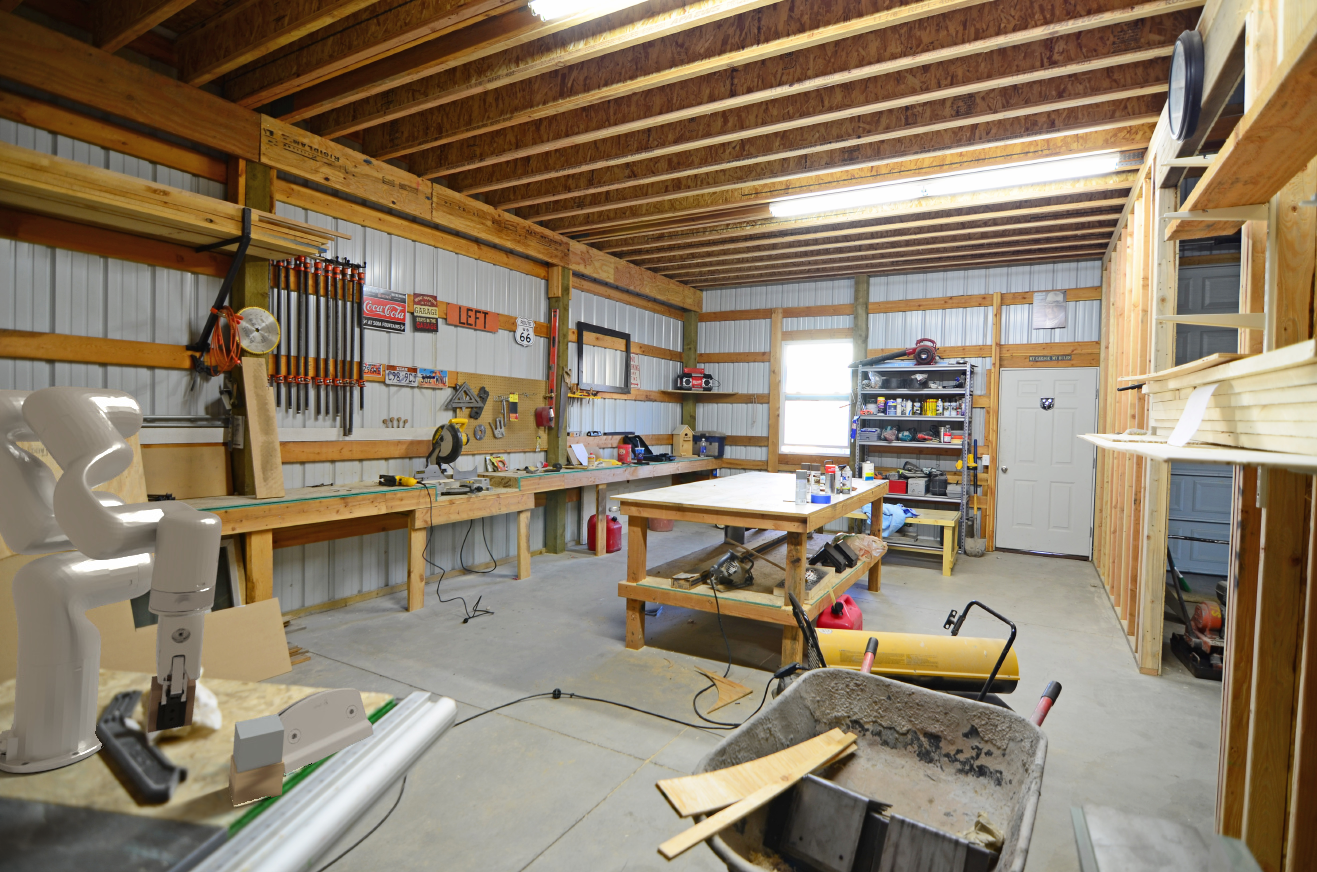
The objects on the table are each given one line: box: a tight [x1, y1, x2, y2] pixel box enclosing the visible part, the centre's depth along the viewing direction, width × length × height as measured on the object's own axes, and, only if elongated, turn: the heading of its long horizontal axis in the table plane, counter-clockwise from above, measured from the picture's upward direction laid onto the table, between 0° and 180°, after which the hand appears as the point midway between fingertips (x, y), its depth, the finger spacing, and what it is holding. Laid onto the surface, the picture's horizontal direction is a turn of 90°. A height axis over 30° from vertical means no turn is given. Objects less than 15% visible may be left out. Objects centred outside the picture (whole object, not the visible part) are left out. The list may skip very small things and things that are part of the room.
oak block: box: [228, 753, 284, 806], centre depth 93 cm, size 6×6×5 cm
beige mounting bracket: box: [276, 687, 374, 775], centre depth 106 cm, size 17×5×10 cm, turn 153°
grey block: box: [232, 713, 284, 773], centre depth 93 cm, size 6×6×5 cm
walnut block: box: [147, 674, 197, 734], centre depth 91 cm, size 5×5×6 cm
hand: (169, 716), depth 91 cm, fingers closed on walnut block, 5 cm apart
